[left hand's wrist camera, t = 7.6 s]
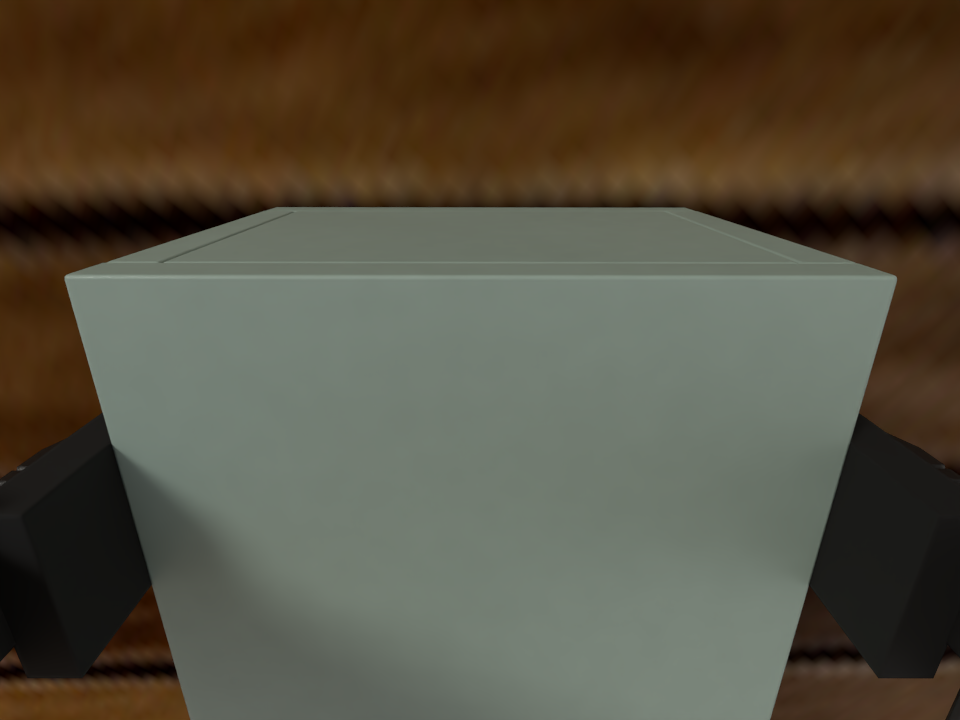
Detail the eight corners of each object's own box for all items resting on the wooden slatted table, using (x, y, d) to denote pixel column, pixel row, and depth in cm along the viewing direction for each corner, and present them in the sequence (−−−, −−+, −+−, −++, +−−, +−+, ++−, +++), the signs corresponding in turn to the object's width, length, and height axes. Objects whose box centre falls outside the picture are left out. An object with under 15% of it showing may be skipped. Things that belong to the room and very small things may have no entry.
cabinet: (621, 682, 21) (697, 972, 14) (338, 681, 21) (261, 972, 14) (687, 207, 15) (900, 275, 7) (274, 207, 15) (60, 274, 7)
